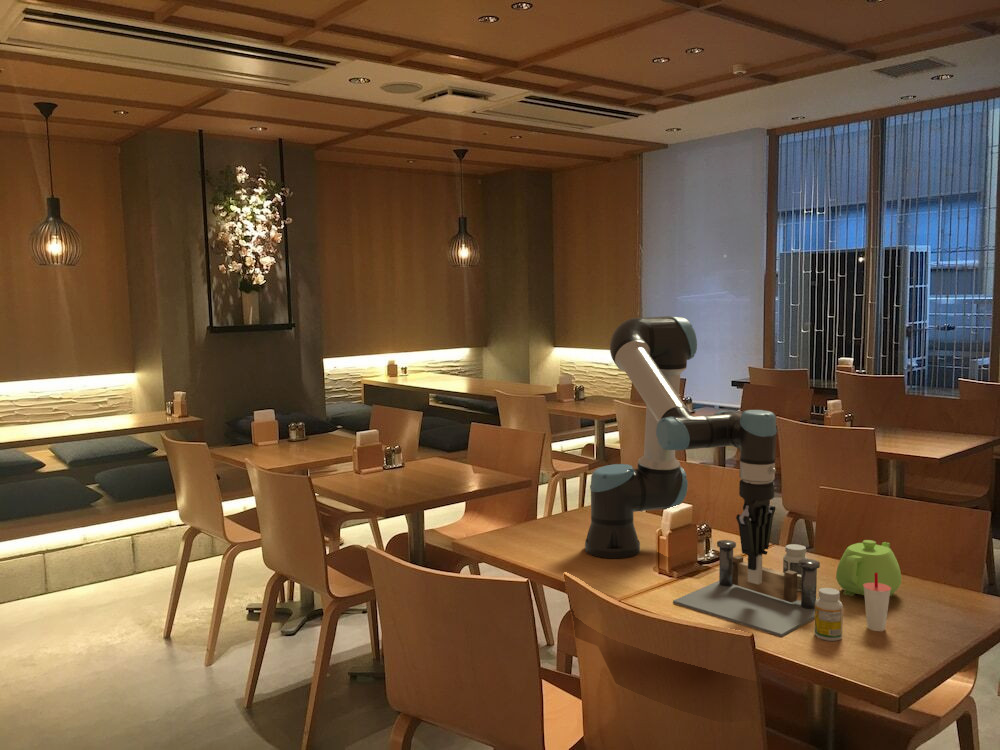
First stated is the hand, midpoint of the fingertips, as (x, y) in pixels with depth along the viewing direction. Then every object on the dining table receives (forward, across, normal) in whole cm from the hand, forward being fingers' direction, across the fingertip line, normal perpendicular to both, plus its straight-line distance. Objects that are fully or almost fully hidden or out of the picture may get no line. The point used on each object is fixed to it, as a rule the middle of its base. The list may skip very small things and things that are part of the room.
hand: (754, 582), depth 189 cm
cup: (+5, +6, -25) cm, 26 cm away
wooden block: (+4, +5, +1) cm, 7 cm away
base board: (+5, -2, 0) cm, 6 cm away
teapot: (+6, +25, -15) cm, 30 cm away
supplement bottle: (+5, -5, -20) cm, 21 cm away
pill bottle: (+6, +17, -1) cm, 18 cm away
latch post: (+5, +6, -9) cm, 12 cm away
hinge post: (+6, +6, +11) cm, 14 cm away
